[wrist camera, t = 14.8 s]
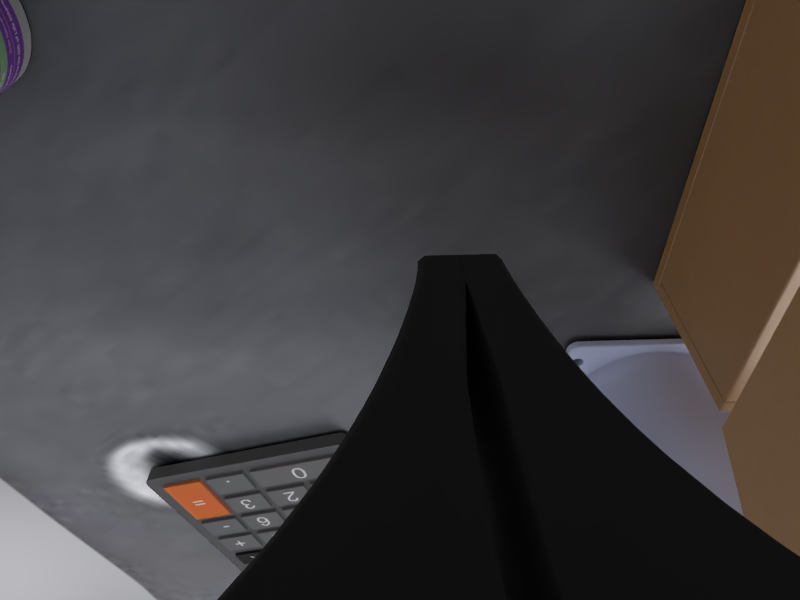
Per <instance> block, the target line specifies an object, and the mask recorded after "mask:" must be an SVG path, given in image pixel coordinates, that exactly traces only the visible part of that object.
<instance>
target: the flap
mask: <svg viewBox="0 0 800 600" xmlns="http://www.w3.org/2000/svg"><path fill="white" fill-rule="evenodd" d="M722 430H723V434H724V438H725V442H726V446H727V450H728V454H729V458H730V462H731V466H732V470H733V475H734V479H735V483H736V487H737V491H738V495H739V499H740V503H741V507H742V511H743V515H744V517H745V518H747V519H748V520H749V521H751V522H752V523H753V524H755V525H756V526H757V527H759V528H760V529H762V530H763V531H764V532H766V533H767V534H768V535H770V536H771V537H772V538H774V539H775V540H777V541H778V542H779V543H781V544H782V545H784V546H785V547H786V548H788V549H789V550H791V551H792V552H794V553H795V554H797V555H798V556H800V286H799V288H798V290H797V291H796V293H795V295H794V297H793V299H792V301H791V302H790V304H789V306H788V308H787V310H786V312H785V313H784V315H783V317H782V319H781V321H780V323H779V324H778V326H777V328H776V330H775V332H774V333H773V335H772V337H771V339H770V341H769V343H768V344H767V346H766V348H765V350H764V352H763V354H762V355H761V357H760V359H759V361H758V363H757V365H756V366H755V368H754V370H753V372H752V374H751V376H750V377H749V379H748V381H747V383H746V385H745V387H744V388H743V390H742V392H741V394H740V396H739V398H738V399H737V401H736V403H735V405H734V407H733V409H732V410H731V412H730V414H729V416H728V418H727V420H726V421H725V423H724V425H723V427H722Z"/></svg>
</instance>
